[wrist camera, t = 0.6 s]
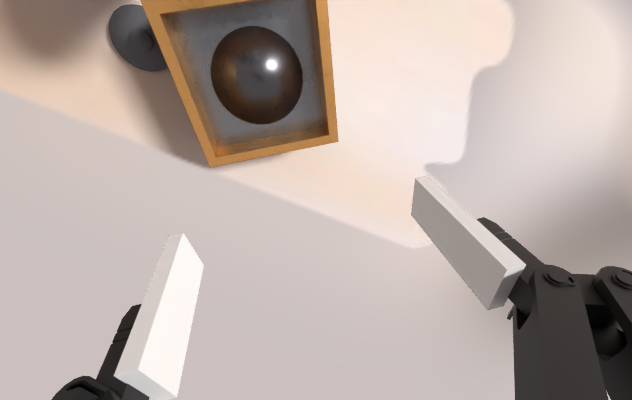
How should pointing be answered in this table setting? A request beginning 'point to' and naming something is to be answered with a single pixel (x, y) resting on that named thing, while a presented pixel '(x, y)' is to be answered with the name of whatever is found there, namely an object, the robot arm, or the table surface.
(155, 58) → the disc
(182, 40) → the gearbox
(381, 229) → the table surface
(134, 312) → the robot arm
